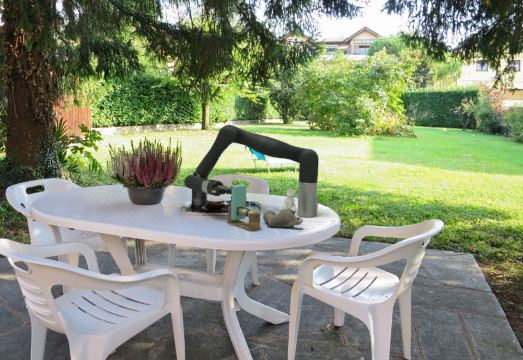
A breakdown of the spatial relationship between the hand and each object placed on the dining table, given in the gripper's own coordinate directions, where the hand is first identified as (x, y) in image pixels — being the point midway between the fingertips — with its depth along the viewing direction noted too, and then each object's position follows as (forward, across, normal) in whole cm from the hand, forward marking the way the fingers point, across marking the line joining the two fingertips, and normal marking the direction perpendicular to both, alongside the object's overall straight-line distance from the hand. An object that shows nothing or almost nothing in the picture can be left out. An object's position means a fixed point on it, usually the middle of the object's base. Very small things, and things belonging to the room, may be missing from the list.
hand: (234, 192), depth 215 cm
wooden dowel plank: (+8, +1, -14) cm, 16 cm away
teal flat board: (+4, +1, -12) cm, 12 cm away
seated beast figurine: (-1, -37, -15) cm, 40 cm away
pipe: (+18, -15, -15) cm, 27 cm away
